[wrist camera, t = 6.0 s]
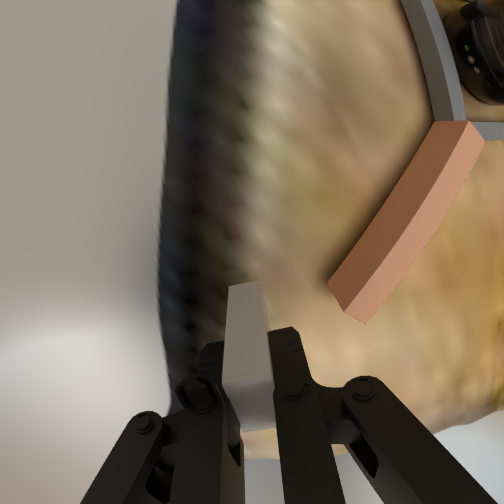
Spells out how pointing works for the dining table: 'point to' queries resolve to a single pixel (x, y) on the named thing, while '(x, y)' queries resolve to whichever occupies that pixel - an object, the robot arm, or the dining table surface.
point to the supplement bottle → (479, 48)
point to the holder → (416, 179)
